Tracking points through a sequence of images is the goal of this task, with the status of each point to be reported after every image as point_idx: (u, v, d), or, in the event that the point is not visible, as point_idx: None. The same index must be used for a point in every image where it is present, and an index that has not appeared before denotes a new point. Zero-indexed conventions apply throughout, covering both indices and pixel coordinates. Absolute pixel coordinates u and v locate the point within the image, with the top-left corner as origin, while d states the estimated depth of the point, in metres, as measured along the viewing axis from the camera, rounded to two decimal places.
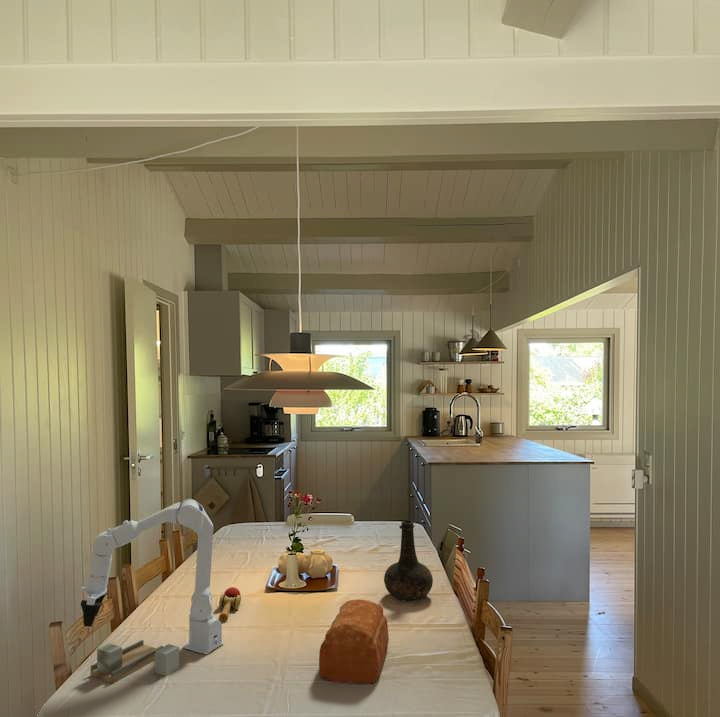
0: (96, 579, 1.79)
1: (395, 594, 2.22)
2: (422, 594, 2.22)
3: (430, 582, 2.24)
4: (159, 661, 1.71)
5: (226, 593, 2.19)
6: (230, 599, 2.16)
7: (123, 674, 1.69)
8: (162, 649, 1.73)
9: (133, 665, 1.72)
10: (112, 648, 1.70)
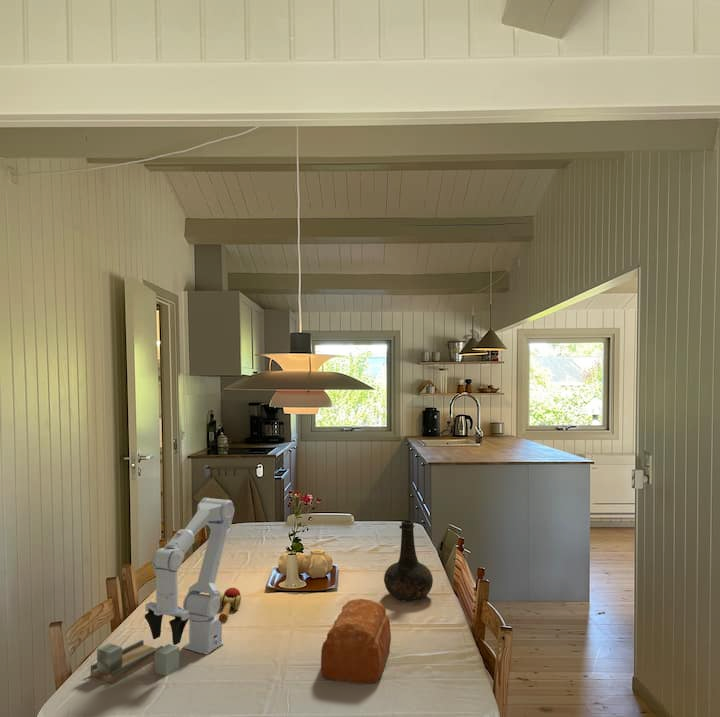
0: (174, 595, 1.72)
1: (395, 594, 2.22)
2: (422, 594, 2.22)
3: (430, 582, 2.24)
4: (159, 661, 1.71)
5: (226, 593, 2.19)
6: (230, 599, 2.16)
7: (123, 674, 1.69)
8: (162, 649, 1.73)
9: (133, 665, 1.72)
10: (112, 648, 1.70)
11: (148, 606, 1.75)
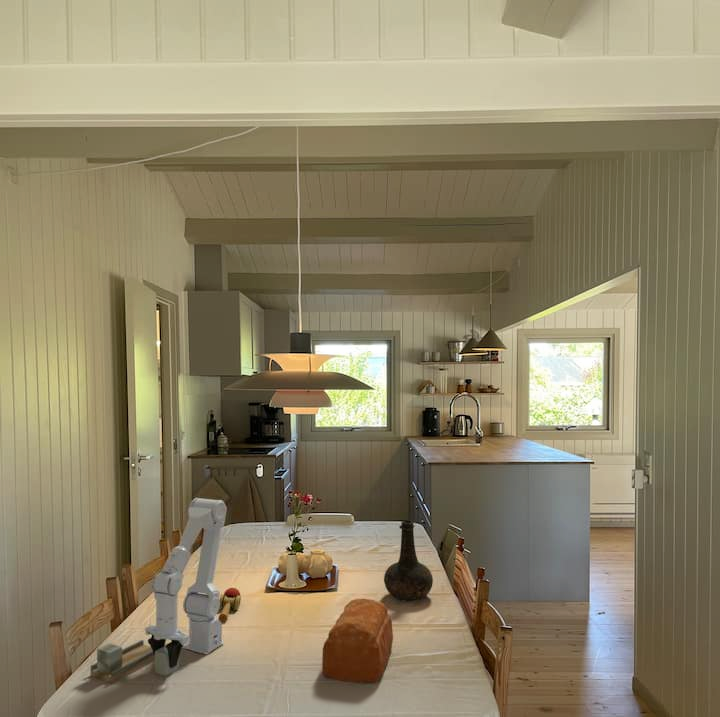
0: (174, 619, 1.72)
1: (395, 594, 2.22)
2: (422, 594, 2.22)
3: (430, 582, 2.24)
4: (159, 661, 1.71)
5: (226, 593, 2.19)
6: (230, 599, 2.16)
7: (123, 674, 1.69)
8: (162, 649, 1.73)
9: (133, 665, 1.72)
10: (112, 648, 1.70)
11: (148, 630, 1.75)
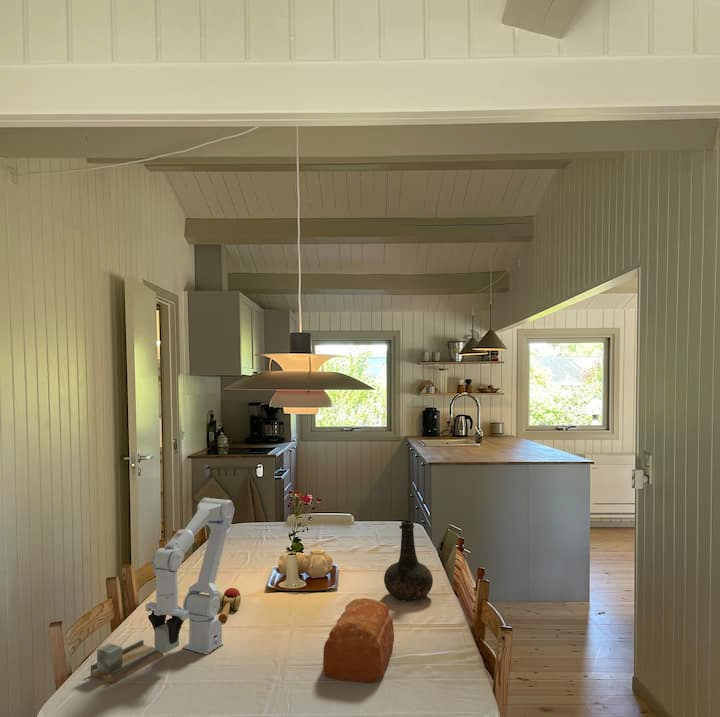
0: (174, 595, 1.72)
1: (395, 594, 2.22)
2: (422, 594, 2.22)
3: (430, 582, 2.24)
4: (159, 638, 1.71)
5: (226, 594, 2.19)
6: (230, 600, 2.16)
7: (123, 674, 1.69)
8: (162, 626, 1.73)
9: (133, 665, 1.72)
10: (112, 648, 1.70)
11: (148, 606, 1.75)
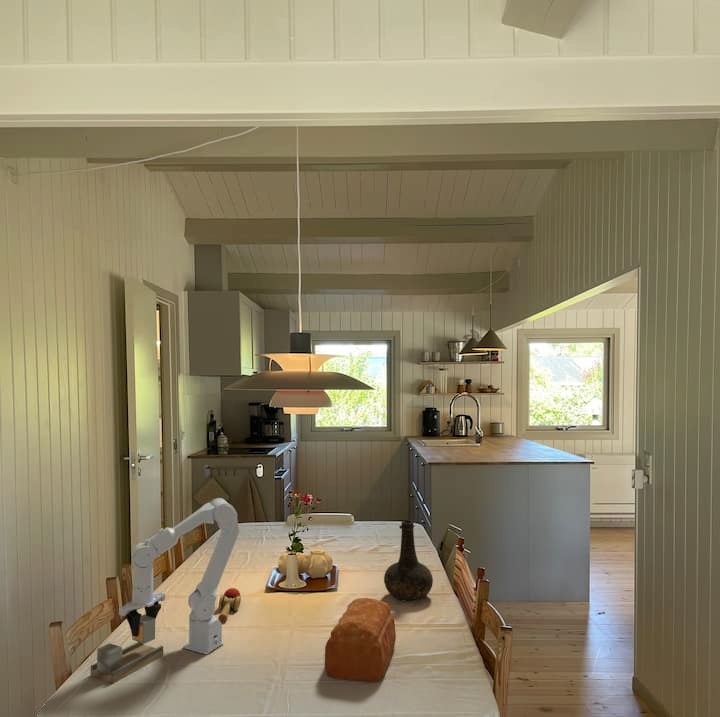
0: None
1: (395, 594, 2.22)
2: (422, 594, 2.22)
3: (430, 582, 2.24)
4: (148, 630, 1.79)
5: (226, 594, 2.19)
6: (230, 600, 2.15)
7: (123, 674, 1.69)
8: (142, 620, 1.80)
9: (133, 665, 1.72)
10: (112, 648, 1.70)
11: (127, 609, 1.75)
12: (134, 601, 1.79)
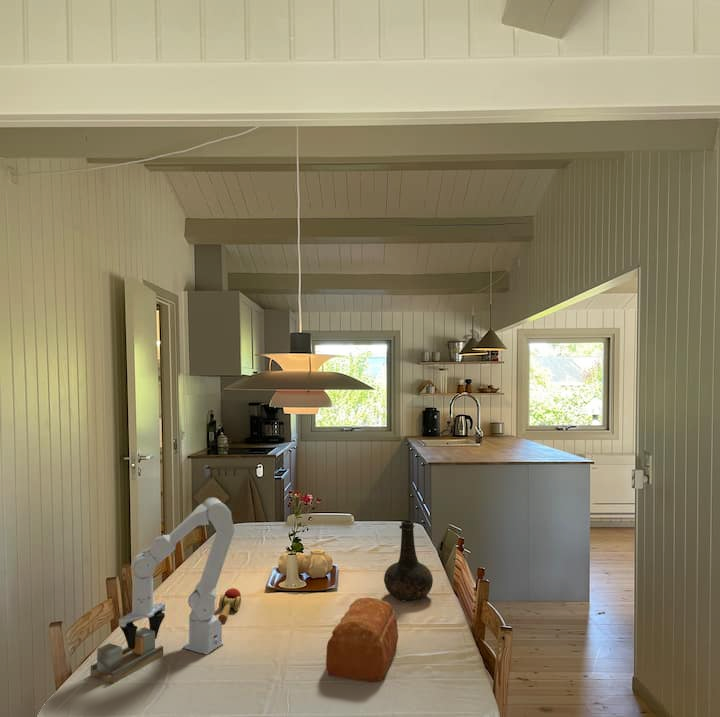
0: None
1: (395, 594, 2.22)
2: (422, 594, 2.22)
3: (430, 582, 2.24)
4: (148, 643, 1.79)
5: (226, 594, 2.18)
6: (230, 600, 2.15)
7: (123, 674, 1.69)
8: (142, 633, 1.80)
9: (133, 665, 1.72)
10: (112, 648, 1.70)
11: (127, 620, 1.75)
12: (134, 612, 1.79)
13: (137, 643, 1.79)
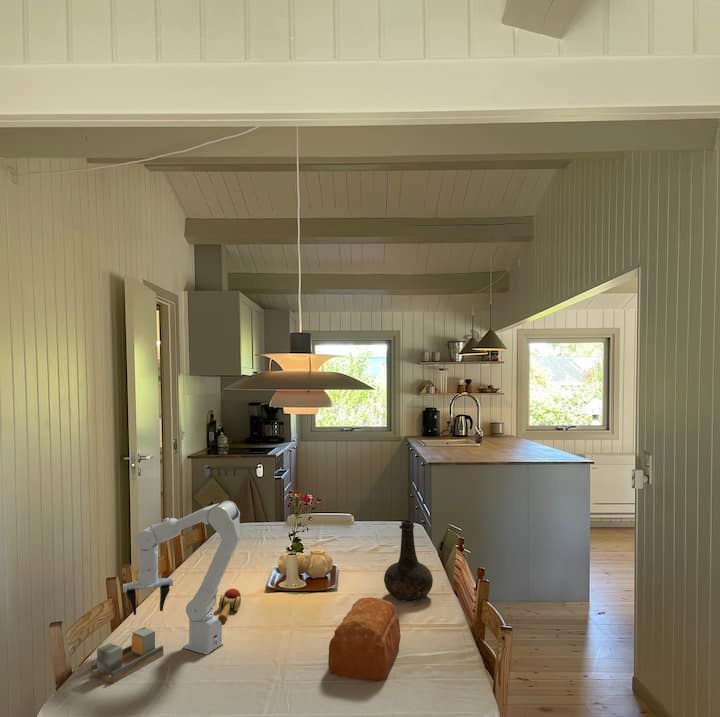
0: None
1: (395, 594, 2.22)
2: (422, 594, 2.22)
3: (430, 582, 2.24)
4: (148, 643, 1.79)
5: (226, 594, 2.18)
6: (230, 600, 2.15)
7: (123, 674, 1.69)
8: (142, 633, 1.80)
9: (133, 665, 1.72)
10: (112, 648, 1.70)
11: (128, 586, 1.87)
12: (138, 580, 1.90)
13: (137, 643, 1.79)
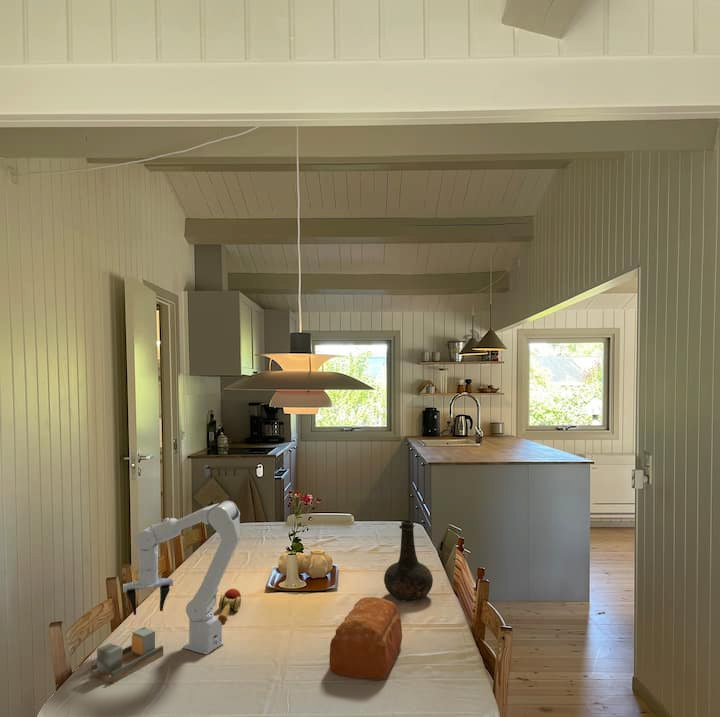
0: None
1: (395, 594, 2.22)
2: (422, 594, 2.22)
3: (430, 582, 2.24)
4: (148, 643, 1.79)
5: (226, 594, 2.18)
6: (230, 601, 2.15)
7: (123, 674, 1.69)
8: (142, 633, 1.80)
9: (133, 665, 1.72)
10: (112, 648, 1.70)
11: (128, 586, 1.87)
12: (138, 580, 1.90)
13: (137, 643, 1.79)
